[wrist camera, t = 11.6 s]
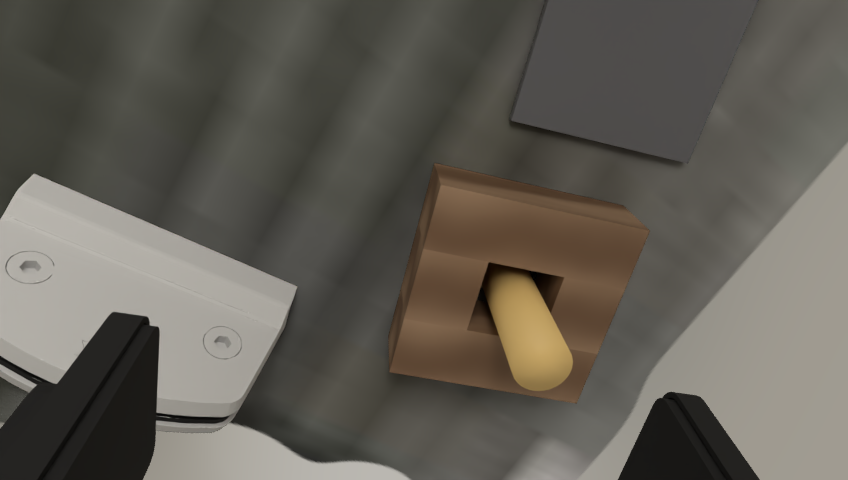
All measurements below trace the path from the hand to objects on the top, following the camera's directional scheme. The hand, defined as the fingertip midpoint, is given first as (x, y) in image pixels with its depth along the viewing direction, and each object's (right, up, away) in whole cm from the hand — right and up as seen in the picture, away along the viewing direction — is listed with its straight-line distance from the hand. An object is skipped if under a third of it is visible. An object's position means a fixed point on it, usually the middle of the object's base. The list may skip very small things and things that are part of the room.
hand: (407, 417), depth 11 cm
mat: (+12, +14, +22) cm, 29 cm away
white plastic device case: (-16, +1, +26) cm, 31 cm away
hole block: (+5, +1, +27) cm, 28 cm away
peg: (+5, +1, +27) cm, 28 cm away
